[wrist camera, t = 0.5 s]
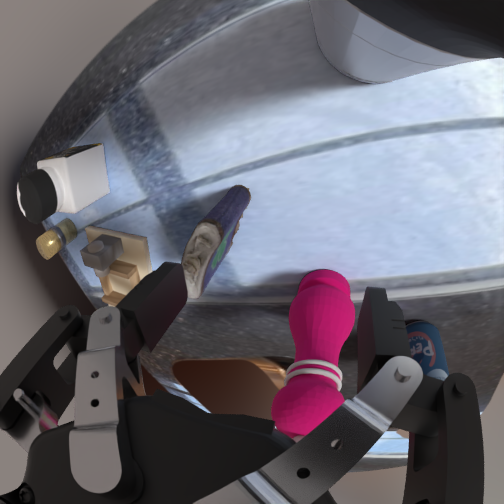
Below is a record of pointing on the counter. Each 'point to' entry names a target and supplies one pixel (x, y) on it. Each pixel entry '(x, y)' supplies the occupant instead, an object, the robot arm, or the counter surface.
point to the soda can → (427, 349)
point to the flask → (213, 240)
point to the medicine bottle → (64, 183)
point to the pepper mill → (314, 353)
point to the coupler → (56, 238)
